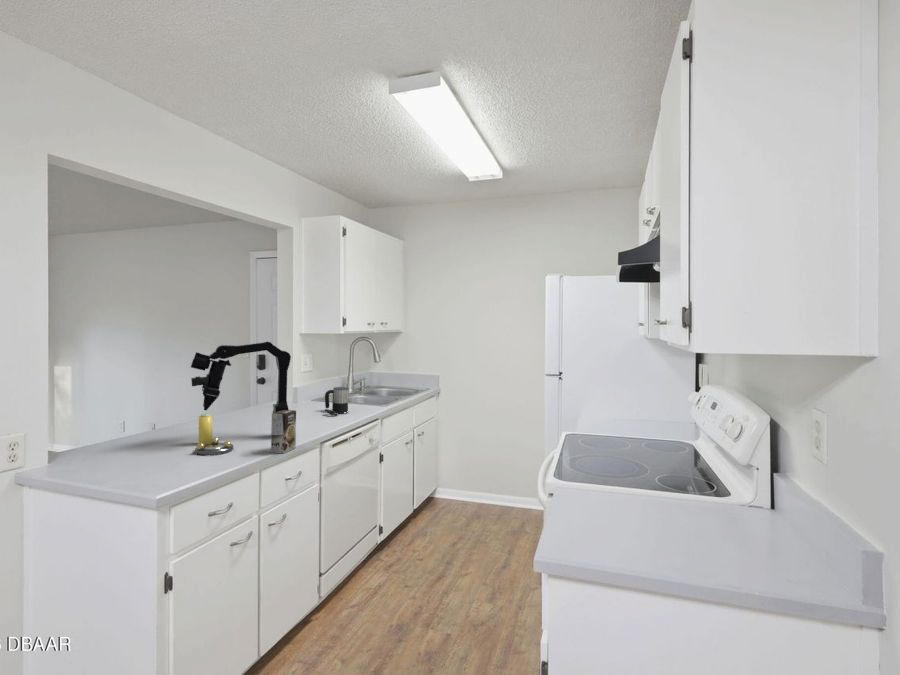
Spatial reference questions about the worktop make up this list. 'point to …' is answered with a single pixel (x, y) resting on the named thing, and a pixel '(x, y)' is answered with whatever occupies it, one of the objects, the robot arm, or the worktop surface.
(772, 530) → the worktop surface
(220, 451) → the base plate
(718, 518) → the worktop surface
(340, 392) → the milk frother
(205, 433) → the yellow cylinder
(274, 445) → the coffee box
